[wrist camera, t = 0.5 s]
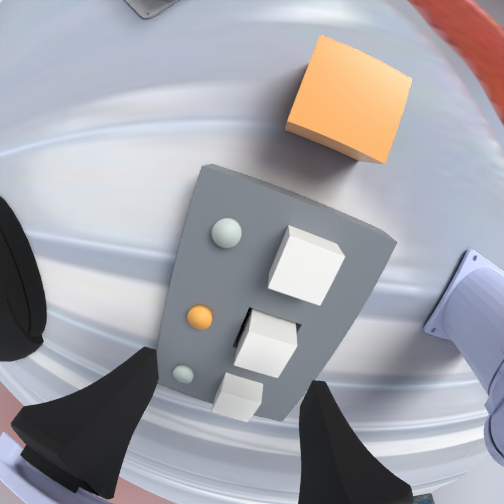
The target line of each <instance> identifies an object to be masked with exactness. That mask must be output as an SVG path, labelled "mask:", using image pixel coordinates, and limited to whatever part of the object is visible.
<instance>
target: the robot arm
mask: <svg viewBox="0 0 504 504" xmlns="http://www.w3.org/2000/svg"><path fill="white" fill-rule="evenodd" d="M473 257H474V258H473ZM433 328H434V329H433ZM432 329H433V330H432ZM424 331H425V333H427V334H430V335H433V336H437V337H440V338H443V339H447V340H450V341H453V343H454V344H455V346H456V347H457V348H458V350H459V351H460V353H461V354H462V356H463V357H464V358H465V360H466V361H467V363H468V364H469V366H470V367H471V369H472V370H473V372H474V373H475V375H476V376H477V378H478V380H479V381H480V383H481V384H482V386H483V388H484V389H485V391H486V392H487V394H488V396H489V398H488V400H487V401H486V403H485V407H486V409H487V411H488V413H489V415H488V417H487V419H486V422H485V426H484V440H485V444H486V447H487V449H488V451H489V453H490V455H491V456H492V457H493V459H494V460H495V461H496V462H497V463H499V464H500V465H502V466H504V271H502V270H501V269H500V268H498V267H497V266H495V265H494V264H493V263H491V262H490V261H488V260H487V259H486V258H484V257H483V256H481V255H480V254H478V253H477V252H475V251H474V250H472V249H469V250H468V251H467V252H466V254H465V256H464V258H463V260H462V262H461V264H460V266H459V268H458V270H457V272H456V274H455V276H454V278H453V280H452V281H451V283H450V285H449V287H448V289H447V290H446V292H445V294H444V296H443V297H442V299H441V301H440V302H439V304H438V306H437V307H436V309H435V311H434V312H433V314H432V315H431V317H430V319H429V320H428V322H427V323H426V325H425V326H424ZM158 380H159V374H158V363H157V350H155V349H151V348H148V347H143V348H142V349H140V350H139V351H138V352H137V353H135V354H134V355H133V356H132V357H130V358H129V359H128V360H127V361H125V362H124V363H123V364H121V365H120V366H119V367H117V368H116V369H114V370H113V371H112V372H110V373H109V374H107V375H106V376H104V377H103V378H101V379H99V380H98V381H96V382H94V383H93V384H91V385H89V386H87V387H85V388H83V389H81V390H79V391H77V392H75V393H72V394H70V395H68V396H65V397H62V398H59V399H56V400H53V401H49V402H46V403H41V404H36V405H30V406H24V407H23V408H22V409H21V410H20V412H19V413H18V414H17V416H16V417H15V418H14V420H13V421H12V422H11V426H12V428H13V430H14V431H15V432H16V433H17V434H18V436H19V437H20V438H21V439H22V440H23V442H24V443H25V444H26V446H25V448H23V447H22V446H21V445H20V444H18V443H17V442H16V441H15V440H14V439H12V438H11V437H10V436H9V435H8V434H7V433H6V432H3V433H2V435H1V436H0V480H1V481H2V482H3V483H4V484H5V485H6V486H7V487H8V488H9V489H10V490H11V491H13V492H14V493H15V494H16V495H17V496H18V497H19V498H20V499H22V500H23V501H24V502H25V503H27V504H112V503H110V502H108V501H106V500H104V499H102V498H99V497H98V496H101V497H103V498H105V499H111V498H113V497H114V493H115V488H116V484H117V480H118V476H119V473H120V469H121V466H122V463H123V460H124V457H125V454H126V451H127V448H128V445H129V442H130V440H131V437H132V435H133V432H134V430H135V428H136V426H137V424H138V423H139V421H140V419H141V417H142V415H143V413H144V411H145V409H146V408H147V406H148V404H149V402H150V400H151V398H152V396H153V393H154V391H155V388H156V385H157V383H158ZM299 433H300V448H301V483H300V493H299V502H298V504H413V502H414V499H413V493H412V489H411V486H410V485H409V484H407V483H406V482H404V481H403V480H401V479H400V478H398V477H397V476H395V475H394V474H393V473H391V472H390V471H389V470H388V469H387V468H385V467H384V466H383V465H382V464H381V463H380V462H379V461H378V460H377V459H376V458H375V457H374V456H373V455H372V454H371V453H370V452H369V451H368V450H367V449H366V447H365V446H364V445H363V444H362V442H361V441H360V440H359V439H358V437H357V436H356V434H355V433H354V432H353V430H352V429H351V427H350V426H349V424H348V422H347V421H346V419H345V417H344V416H343V414H342V412H341V411H340V409H339V407H338V405H337V403H336V401H335V400H334V398H333V396H332V394H331V392H330V390H329V388H328V386H327V384H326V382H325V381H315V380H312V382H311V384H310V386H309V389H308V391H307V393H306V395H305V397H304V399H303V401H302V403H301V405H300V416H299ZM92 493H93V494H92ZM94 494H95V495H94ZM96 495H97V496H96Z"/></svg>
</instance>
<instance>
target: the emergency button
mask: <svg viewBox="0 0 504 504" xmlns="http://www.w3.org/2000/svg"><path fill="white" fill-rule="evenodd" d="M125 1H126V2H127V3H128V4H129V5H130V6H131V7H132V8H133V9H134V10H135V11H136V12H137V13H138V14H139V15H140V16H141V17H142V18H145V19H148V18H153V17H154V16H156V15H158V14H160V13H161V12H162V11H164V10H165V9H167V8H168V7H169V6H171V5H172V4H174V3H175V2H177V1H178V0H125Z"/></svg>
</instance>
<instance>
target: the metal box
mask: <svg viewBox="0 0 504 504" xmlns="http://www.w3.org/2000/svg"><path fill="white" fill-rule="evenodd" d="M413 499H414V502H413V504H435V503H434V500H433V497H432V494H425V495H420V496H415V497H413Z"/></svg>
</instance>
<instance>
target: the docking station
mask: <svg viewBox="0 0 504 504" xmlns="http://www.w3.org/2000/svg"><path fill="white" fill-rule="evenodd" d="M45 323H46V303H45V296H44V291H43V287H42V282H41V278H40V275H39V271H38V268H37V265H36V262H35V259H34V256H33V253H32V251H31V248H30V246H29V243H28V240H27V238H26V236H25V234H24V232H23V230H22V228H21V225H20V223H19V222H18V220H17V218H16V216H15V215H14V213H13V211H12V210H11V208H10V207H9V206H8V204H7V203H6V202H5V200H4V199H3V198H2V197H0V361H15V360H18V359H22V358H25V357H26V356H28V355H30V354H31V353H33V352H34V351H35V350H36V349H37V348H38V347H39V346H40V345H41V344H42V343H43V342H44V341H43V338H42V335H41V333H42V332H43V330H44V328H45Z"/></svg>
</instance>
